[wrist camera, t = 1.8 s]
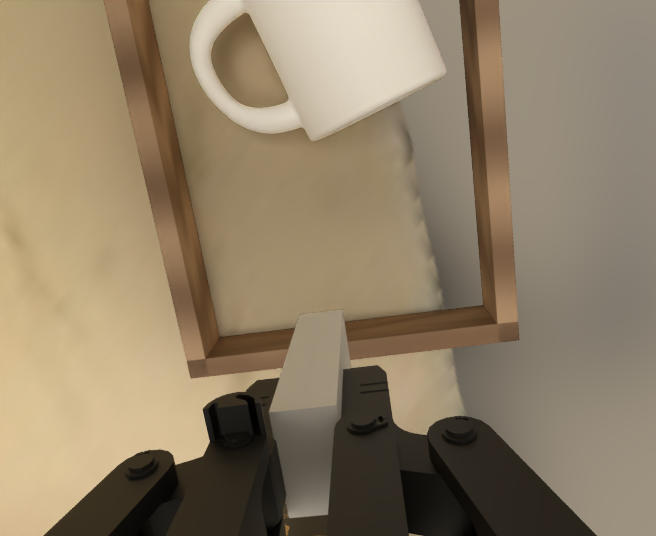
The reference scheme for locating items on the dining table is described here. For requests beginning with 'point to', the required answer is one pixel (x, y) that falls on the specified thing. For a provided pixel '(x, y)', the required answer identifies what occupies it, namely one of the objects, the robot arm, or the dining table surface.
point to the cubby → (362, 336)
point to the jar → (305, 525)
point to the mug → (323, 59)
